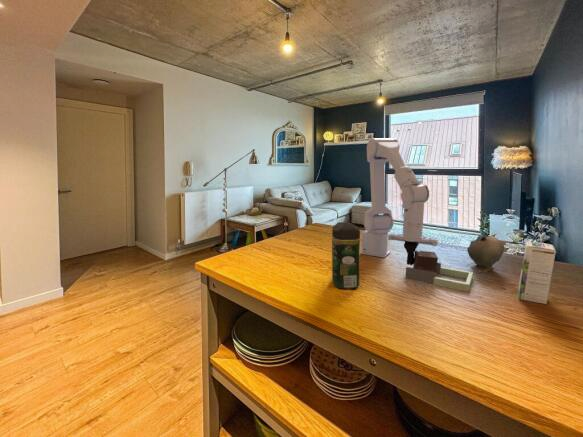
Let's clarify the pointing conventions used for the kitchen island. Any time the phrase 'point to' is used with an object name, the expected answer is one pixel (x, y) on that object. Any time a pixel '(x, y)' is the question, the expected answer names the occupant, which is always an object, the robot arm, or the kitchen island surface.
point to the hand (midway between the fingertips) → (410, 264)
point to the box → (425, 261)
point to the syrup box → (536, 272)
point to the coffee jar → (345, 255)
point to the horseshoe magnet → (431, 279)
